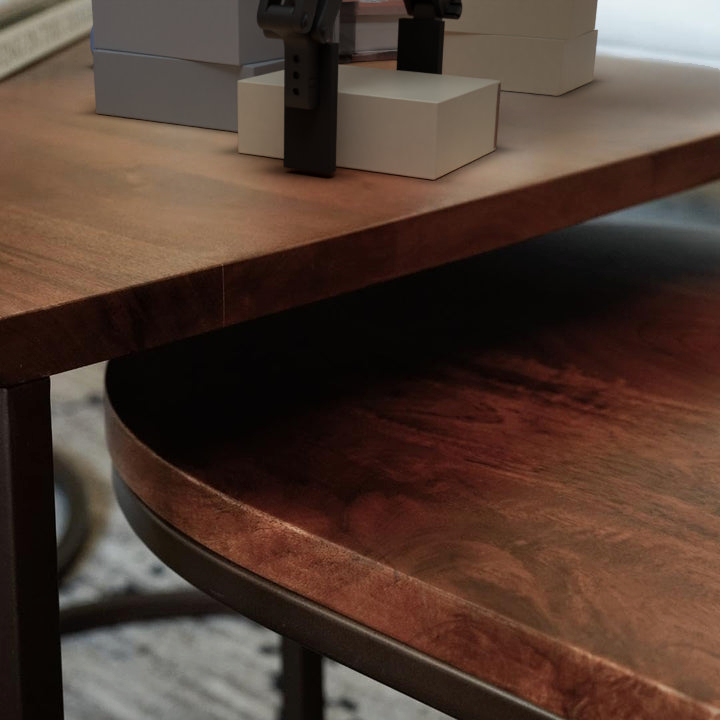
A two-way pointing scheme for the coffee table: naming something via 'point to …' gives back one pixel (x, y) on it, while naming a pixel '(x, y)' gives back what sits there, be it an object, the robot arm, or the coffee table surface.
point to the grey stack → (178, 59)
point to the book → (367, 29)
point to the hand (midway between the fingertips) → (367, 148)
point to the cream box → (384, 120)
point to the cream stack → (523, 44)
